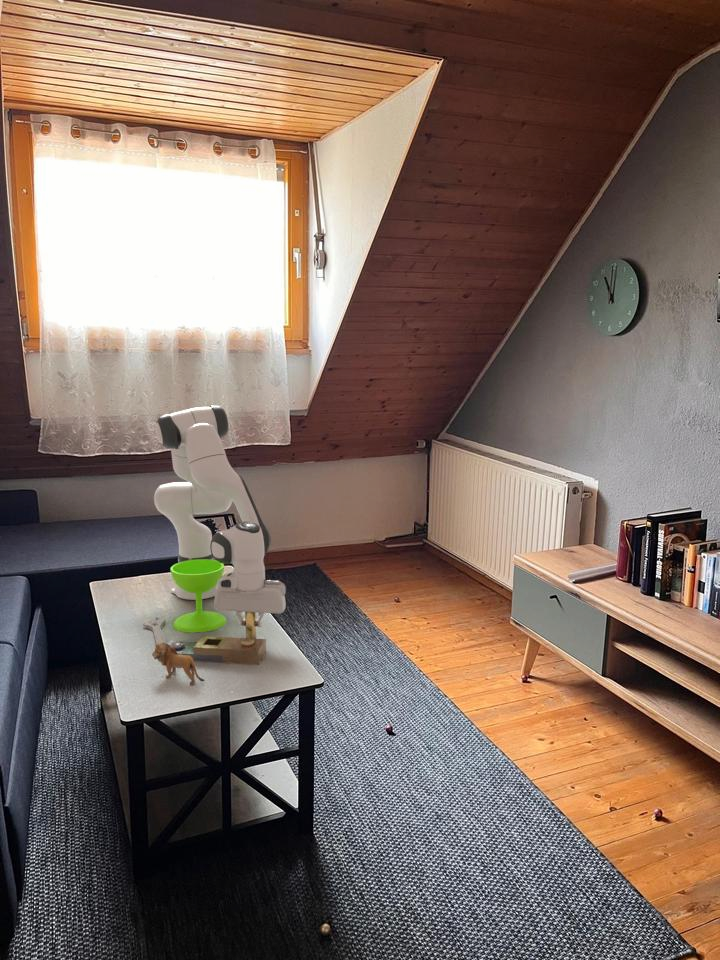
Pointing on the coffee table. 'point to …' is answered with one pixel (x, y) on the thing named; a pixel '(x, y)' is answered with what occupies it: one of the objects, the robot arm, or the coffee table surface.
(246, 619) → the brass pin
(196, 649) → the door latch
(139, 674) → the coffee table surface
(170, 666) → the lion figurine
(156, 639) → the adjustable wrench
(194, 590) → the wineglass
